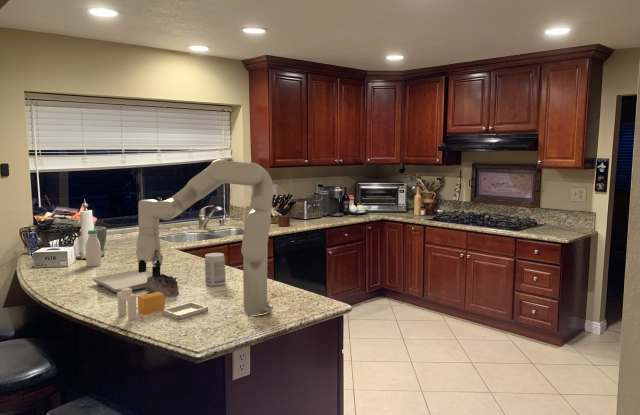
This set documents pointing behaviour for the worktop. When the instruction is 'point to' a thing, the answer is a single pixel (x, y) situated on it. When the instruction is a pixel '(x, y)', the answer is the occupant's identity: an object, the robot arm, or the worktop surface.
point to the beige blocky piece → (131, 299)
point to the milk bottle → (93, 249)
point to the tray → (185, 310)
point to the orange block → (151, 303)
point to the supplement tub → (215, 269)
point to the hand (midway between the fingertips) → (149, 274)
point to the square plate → (124, 280)
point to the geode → (162, 285)
